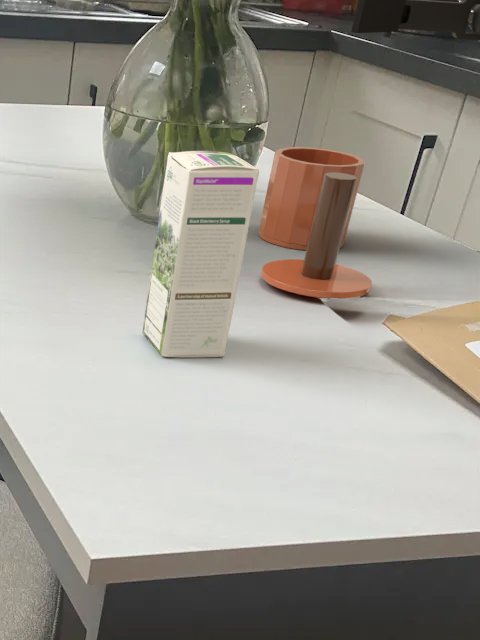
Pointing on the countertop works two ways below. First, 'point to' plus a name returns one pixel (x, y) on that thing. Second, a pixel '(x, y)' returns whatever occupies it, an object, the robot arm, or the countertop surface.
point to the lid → (323, 249)
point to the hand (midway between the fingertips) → (422, 25)
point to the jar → (301, 192)
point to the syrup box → (198, 252)
